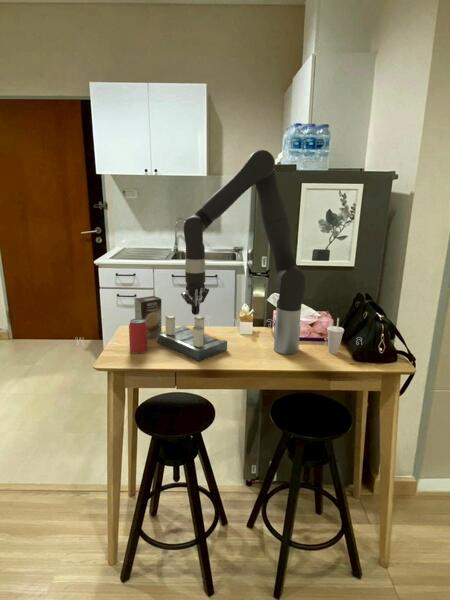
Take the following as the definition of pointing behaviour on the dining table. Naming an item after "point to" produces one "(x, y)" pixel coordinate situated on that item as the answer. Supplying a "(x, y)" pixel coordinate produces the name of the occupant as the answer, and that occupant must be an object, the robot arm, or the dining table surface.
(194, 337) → the handle
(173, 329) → the handle
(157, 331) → the coffee box
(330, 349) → the smoothie
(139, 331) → the beer can
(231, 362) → the dining table surface
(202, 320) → the handle
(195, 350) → the panel
